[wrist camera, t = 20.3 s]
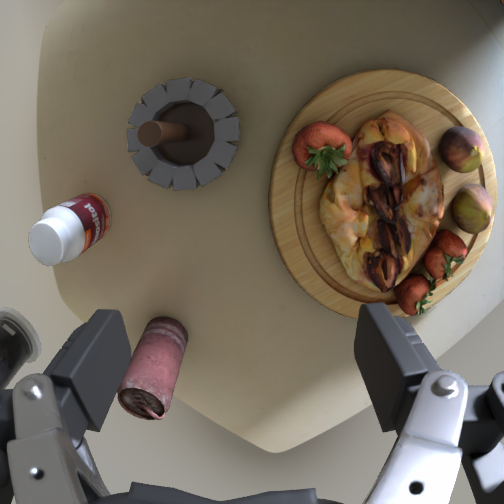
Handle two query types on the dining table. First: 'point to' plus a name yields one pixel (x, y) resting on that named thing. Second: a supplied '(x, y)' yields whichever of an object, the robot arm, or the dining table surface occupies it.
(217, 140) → the gear
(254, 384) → the dining table surface
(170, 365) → the can
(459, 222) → the wooden plate
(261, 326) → the dining table surface
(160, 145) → the peg stand
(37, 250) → the pill bottle
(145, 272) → the dining table surface
